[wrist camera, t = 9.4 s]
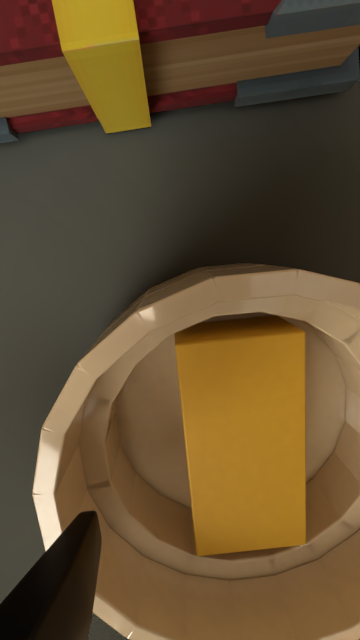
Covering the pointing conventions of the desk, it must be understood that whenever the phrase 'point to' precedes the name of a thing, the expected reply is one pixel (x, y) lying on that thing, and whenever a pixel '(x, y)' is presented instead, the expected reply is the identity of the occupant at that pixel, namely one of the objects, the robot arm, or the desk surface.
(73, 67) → the decorative book
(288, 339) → the block
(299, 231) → the desk surface
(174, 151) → the desk surface
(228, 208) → the desk surface
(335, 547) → the bowl
